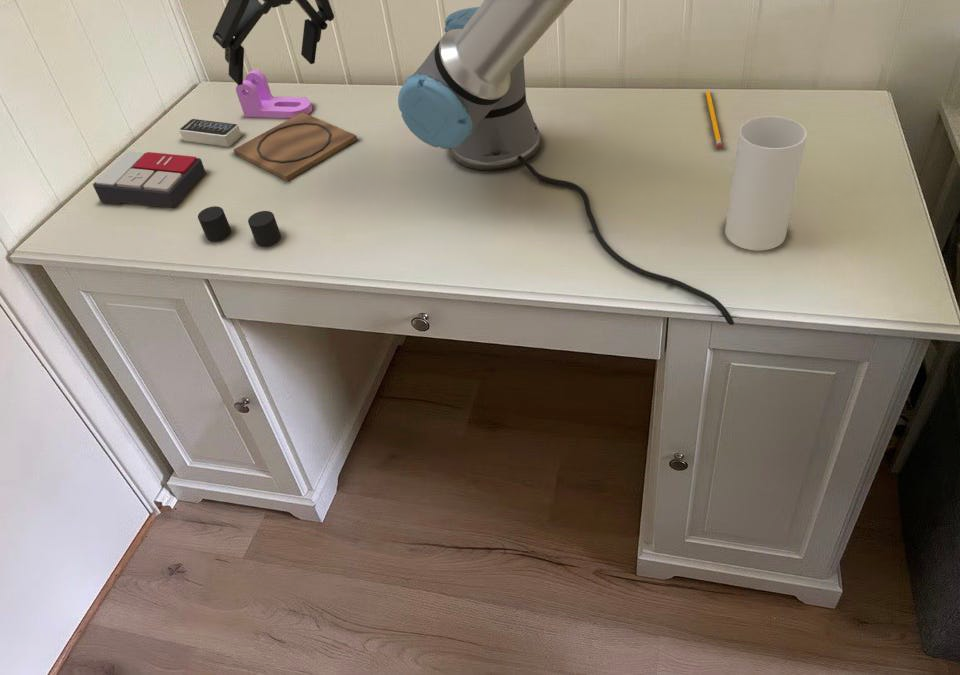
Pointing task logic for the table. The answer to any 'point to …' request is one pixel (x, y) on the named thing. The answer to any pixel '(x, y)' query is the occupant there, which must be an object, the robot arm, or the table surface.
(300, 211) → the table surface
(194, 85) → the table surface
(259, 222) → the eye puck
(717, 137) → the pencil
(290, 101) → the bracket
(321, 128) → the board
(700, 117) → the table surface
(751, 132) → the cup
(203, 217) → the eye puck
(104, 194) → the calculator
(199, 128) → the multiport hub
